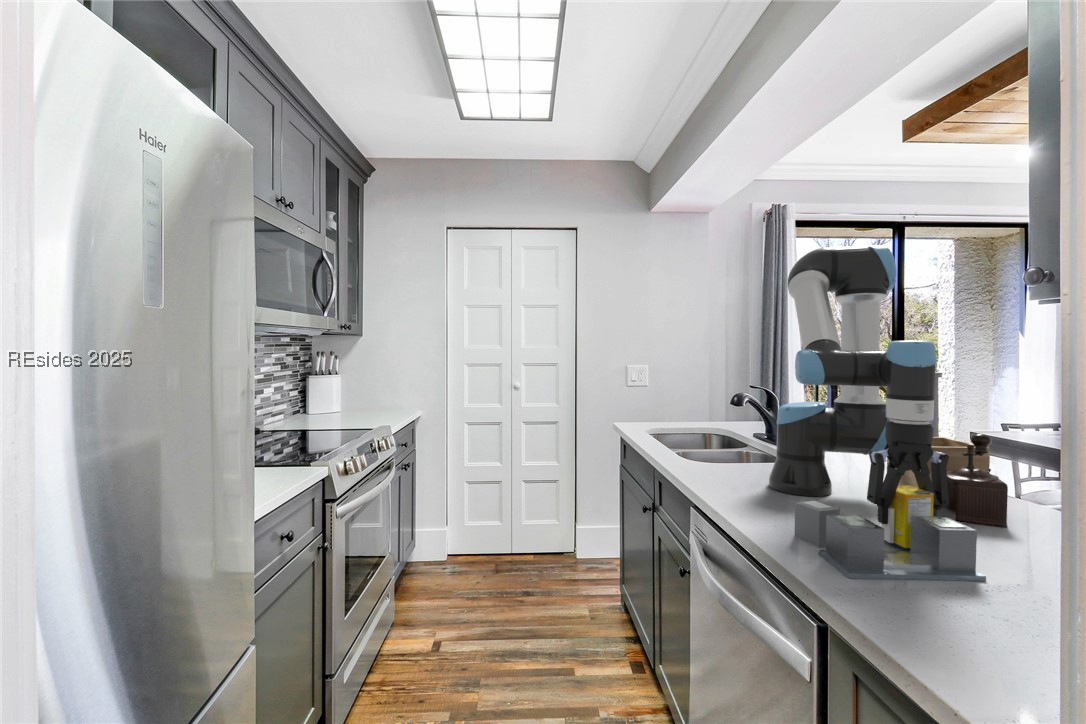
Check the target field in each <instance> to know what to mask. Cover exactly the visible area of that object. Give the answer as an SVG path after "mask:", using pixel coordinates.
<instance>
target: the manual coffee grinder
mask: <svg viewBox="0 0 1086 724" xmlns="http://www.w3.org/2000/svg"><path fill="white" fill-rule="evenodd" d="M969 440H970V443H971V444H969V445H968V446H967V448H968V450H967V452H965V453H962V455H963V456H968V466H967V467H962V468H959V469H956V470H954V471H947V484H948V499H949V504H948V505H947V506H944V505H943V506H942V508H944V509H949V510H954V511H956V518H955V521H956V522H959V523H962V522H963V523H964V524H970V525H971V524H972V525H980V526H986V527H987V526H989V527H997V528H1005V529H1006V528H1008V495H1009V494H1008V493H1009V487H1008V483H1006V482H1004V481H1003V480H1001V479H1000V477H999V476H997V475H995V474H991V473H990V472H991V470H992V469H991V468H989V470H988V471H984V470H982V469H979V468H977V467H974V463H973V456H976V455H979V456H982V455H984V454H989V452H988V450H987V448H989V446H990V445H991V444H992V441H993V440H992V438H991V437H990V436H988V435H987V434H983V433H975V434H973V435H971V437H970V439H969ZM972 444H974V445H972ZM974 446H975V450H974ZM963 523H962V524H963Z"/></svg>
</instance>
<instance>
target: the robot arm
mask: <svg viewBox="0 0 1086 724" xmlns="http://www.w3.org/2000/svg"><path fill="white" fill-rule="evenodd" d="M787 277H788V278H787V290H788V294H789V295H790V297H791V298H792V299H793V301H794V306H795V312H796V316H797V317H796V318H797V323H798V328H799V334H800V335H799V336H800V340H801V345H802V350H801V349H800V350H799V351H797V352H796V355H795V362H794V371H795V372H794V373H795V379H796V381H797V383H799V384H801V385H813V386H814V385H815V386H840V395H839V396H838V397H836V398H835V399H834V400H833V407H827V404H826V402H824V401H801V402H792V403H791V402H790V403H786V404H783V405H780V406H779V408H778V409H777V416H776V417H777V419H776V422H775V423H776V426H777V427H776V430H777V431H776V432H777V433H776V458H775V461H774V464H773V466H772V469H771V471H770V475H769V477H768V485H769V487H770V488H771V489H773V490H774V491H778V492H781V493H785V494H790V495H795V496H796V495H797V496H805V497H822V496H823V497H824V496H829V495H831V494H832V491H833V490H832V489H833V488H832V487H833V486H832V484H833V483H832V481H831V478H830V475H829V472H828V470H827V466H826V463H825V462H826V460H825V458H826V457H825V456H826V455H825V454H826V453H829V452H830V453H840V454H841V453H843V454H844V453H845V454H861V455H864V456H867V455H868V458H869V460H870V468H869V469H870V470H869V476H868V477H869V478H868V485H867V494H866V500H867V501H868V502H870V503H872V504H874V505H876V507H877V514H876V515H877V516H876V517H877V522H878V523H879V524H880V527H882V528H884V529H885V531H884V540H885V541H887V542H889V543H894V509H893V508H891V507H890V505H891V503H892V500H893V497H894V495H895V492H896V489H897V487H898V484H899V481H900V479H901V476H903V475H904V474H905V471H908V470H912V472H913V473H914V475H915V478H916V481H917V484H918V487H919V489H922V490H925V491H928V492H931V493H933V494H934V499H933V516H934V517H937V510H941V509H942V506H943V505H944V506H947V505H948V504H949V499H948V484H947V469H946V466H947V463H948V459H949V456H948V455H947V454H944V453H941V452H934V451H933V449H932V447H931V443H933V437H934V431H935V429H934V427H935V426H934V425H933V424H932V423H931V422H933V421H934V419H935V418H934V417H935V411H934V410H935V390H936V389H935V387H936V386H935V385H936V383H935V382H936V363H937V360H938V359H937V357H936V346H935V343H934V342H933V341H931V340H892V341H890V342H888V345H887V349H885V350H880V337H881V336H880V332H881V331H880V329H881V328H880V327H881V325H880V324H881V321H880V320H881V317H880V316H881V310H880V309H881V308H880V307H881V305H880V304H881V302H883V300H885V299H886V298H887V297H888V291H891V290H893V289H895V285H896V282H897V281H896V280H897V279H896V278H897V266H896V259H895V257H894V254H893V252H892V251H891V249H890V248H888V247H887V246H885V245H870V244H866V245H854V246H853V245H851V246H850V245H849V246H837V247H835V246H834V247H820V248H817V249H813V250H812V251H809V252H807V253H806V254H805V255H803V256H802V257H800V258H799V259H798V260H797V262H795V263H794V265H793V266H792V268H791V270H790V272H789V274H788V276H787ZM828 292H831V293H834V299H835V301H837V302H838V303H839V304H840V305H841V319H840V321H841V331H840V332H841V333H840V337H841V338H839V334H838V330H837V326H836V322H835V319H834V314H833V311H832V307H831V303H830V299H829V294H828ZM840 339H841V340H840ZM880 387H885V388H886V394H885V395H886V400H883V399H882V397H881V396H880ZM887 458H888V459H889V460H890V461H889V463H888V466H887V465H885V464H886V463H887ZM929 460H931V475H932V482H931V479H930V476H929V474H930V471H929V468H928V465H927V462H928V461H929ZM885 468H886V469H885ZM895 468H897V469H895ZM885 470H886V474H885Z"/></svg>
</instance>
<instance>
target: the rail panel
mask: <svg viewBox="0 0 1086 724" xmlns="http://www.w3.org/2000/svg"><path fill="white" fill-rule="evenodd" d="M884 531H885V529H884V528H882V527H881V525H878V524H877V523H874V522H873V521H871V520H869V519H868V518H866V517H864V516H862V515H855V514H840V515H826V547H825V549H818V555H819V556H820V557H822V559H824V560H825V561H826V562H828V563H829V564H830V565H831V566H833V567H834V568H835V569H836V570H837V571H839V572H840V573H841V574H843V576H845V577H846V578H847V579H857V580H858V579H865V580H866V579H867V580H868V579H869V580H870V579H871V580H909V581H910V580H913V581H914V580H915V581H918V580H920V581H923V580H924V581H926V580H927V581H961V582H962V581H964V582H965V581H966V582H973V581H975V582H987V576H986V575H985V574H983V573H981V572H979V571H978V570H977V566H976V565H977V544H978V542H977V540H978V539H977V537H978V536H977V535H978V531H977V529H976V528H972V527H970V526H968V525H966V524H963V523H962V522H956V521H954V520H952V519H950V518H947V517H934V516H911V548H910V551H902V550H900V551H899V550H897V551H896V550H885V542H884Z"/></svg>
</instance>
